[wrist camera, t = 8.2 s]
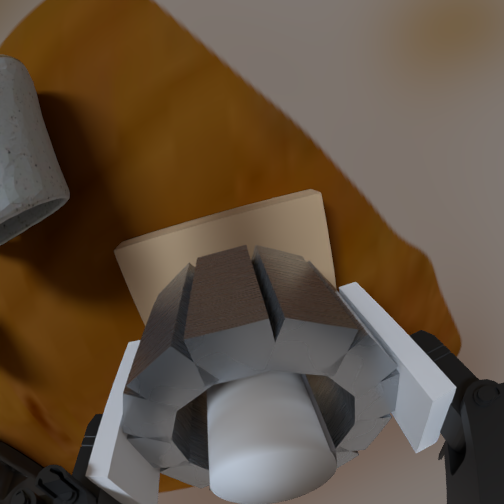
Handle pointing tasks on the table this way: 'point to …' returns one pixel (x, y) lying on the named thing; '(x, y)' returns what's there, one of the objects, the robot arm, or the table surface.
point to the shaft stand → (258, 386)
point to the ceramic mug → (25, 155)
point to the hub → (251, 355)
